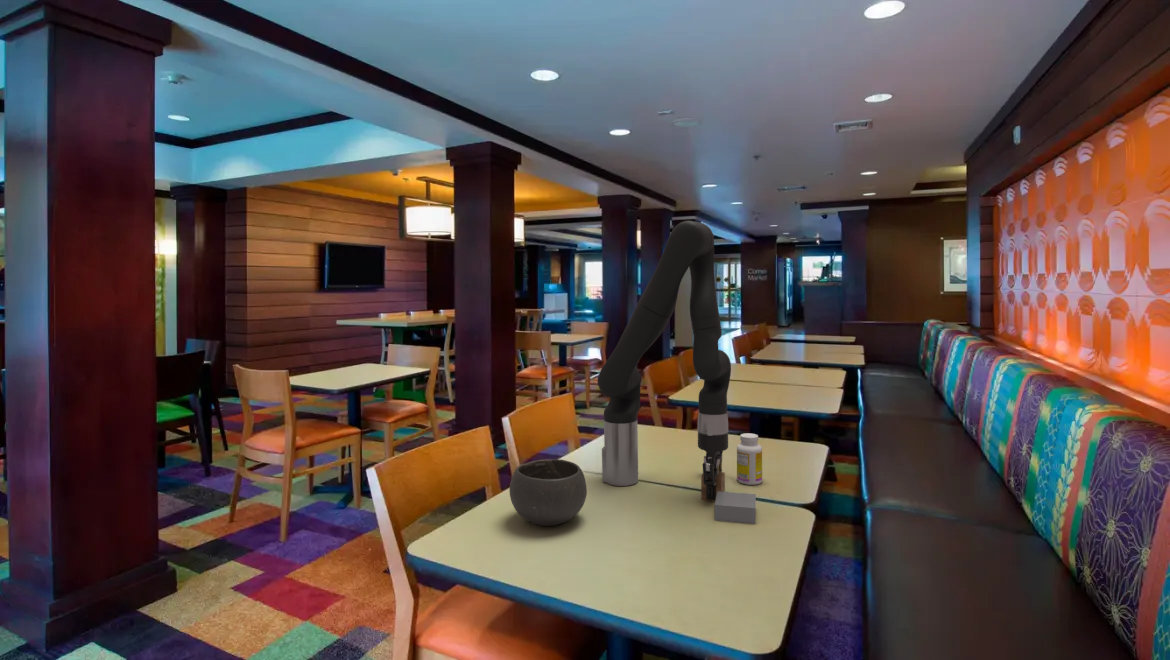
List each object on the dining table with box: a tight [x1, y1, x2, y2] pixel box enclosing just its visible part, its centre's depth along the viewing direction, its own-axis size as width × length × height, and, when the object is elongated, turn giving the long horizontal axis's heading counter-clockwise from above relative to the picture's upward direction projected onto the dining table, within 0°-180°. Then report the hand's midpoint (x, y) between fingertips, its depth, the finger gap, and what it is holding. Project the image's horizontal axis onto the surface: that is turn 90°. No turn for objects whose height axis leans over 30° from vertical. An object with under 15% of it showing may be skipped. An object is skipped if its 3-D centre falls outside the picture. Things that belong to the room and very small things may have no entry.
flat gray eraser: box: [714, 491, 757, 525], centre depth 140 cm, size 9×9×4 cm
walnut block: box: [700, 471, 726, 502], centre depth 151 cm, size 5×5×6 cm
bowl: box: [509, 458, 588, 527], centre depth 139 cm, size 18×18×13 cm
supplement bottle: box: [736, 432, 763, 486], centre depth 162 cm, size 7×7×13 cm
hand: (713, 495), depth 151 cm, fingers closed on walnut block, 5 cm apart
